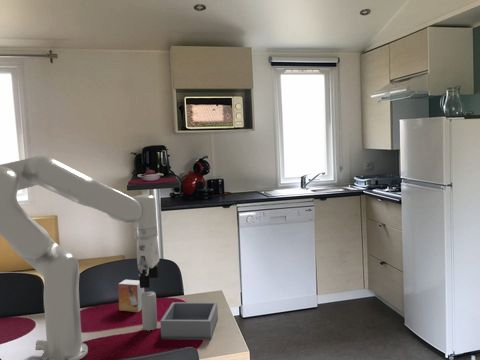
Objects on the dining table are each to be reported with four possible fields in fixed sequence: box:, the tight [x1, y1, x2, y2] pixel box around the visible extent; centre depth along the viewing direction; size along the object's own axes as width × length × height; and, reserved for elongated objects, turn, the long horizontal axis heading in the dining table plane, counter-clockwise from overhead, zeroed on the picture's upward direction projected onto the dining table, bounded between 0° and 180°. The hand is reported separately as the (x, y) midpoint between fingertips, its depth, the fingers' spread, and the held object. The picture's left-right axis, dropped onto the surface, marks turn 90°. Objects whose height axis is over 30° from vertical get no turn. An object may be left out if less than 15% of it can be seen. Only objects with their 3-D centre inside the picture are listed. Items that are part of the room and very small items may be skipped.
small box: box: [118, 279, 145, 313], centre depth 161 cm, size 8×6×10 cm
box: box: [159, 301, 219, 341], centre depth 142 cm, size 16×16×6 cm
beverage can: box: [141, 290, 158, 332], centre depth 143 cm, size 5×5×12 cm
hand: (149, 282), depth 142 cm, fingers open, 9 cm apart
